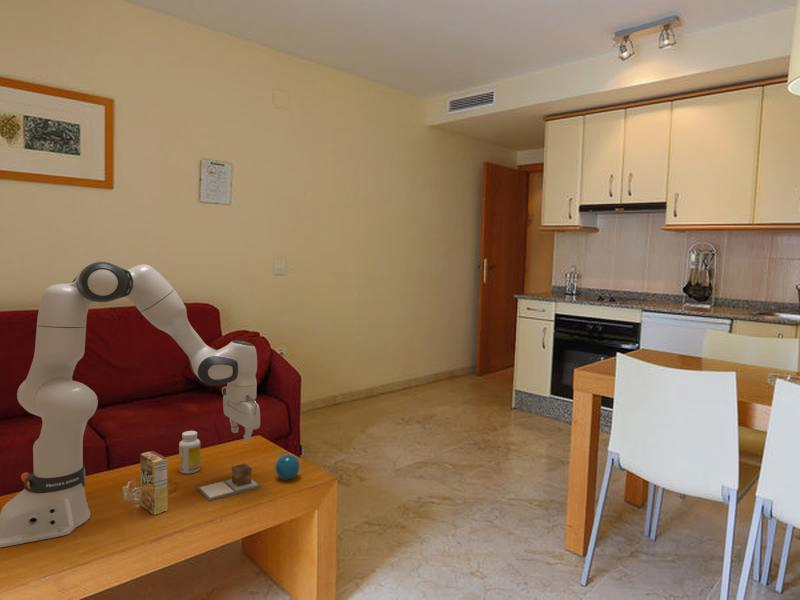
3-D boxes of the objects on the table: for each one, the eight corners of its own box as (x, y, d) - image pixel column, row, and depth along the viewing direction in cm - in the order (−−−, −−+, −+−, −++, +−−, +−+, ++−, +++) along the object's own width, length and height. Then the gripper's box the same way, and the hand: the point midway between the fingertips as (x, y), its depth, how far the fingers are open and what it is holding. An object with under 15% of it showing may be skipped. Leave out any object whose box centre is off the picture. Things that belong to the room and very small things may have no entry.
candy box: (139, 505, 154) (139, 453, 153) (154, 500, 157) (153, 450, 156) (154, 515, 148) (153, 462, 147) (169, 510, 152) (168, 457, 150)
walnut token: (237, 486, 166) (237, 471, 166) (231, 481, 170) (231, 466, 169) (251, 483, 169) (251, 467, 169) (245, 478, 172) (245, 463, 172)
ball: (271, 477, 176) (271, 453, 175) (293, 471, 181) (293, 448, 180) (281, 485, 170) (281, 461, 169) (304, 480, 174) (304, 456, 174)
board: (209, 501, 158) (209, 498, 158) (197, 489, 166) (197, 486, 165) (260, 487, 168) (260, 484, 168) (246, 476, 176) (246, 474, 176)
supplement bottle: (204, 467, 183) (204, 430, 182) (194, 475, 176) (194, 436, 175) (185, 465, 183) (185, 429, 182) (175, 473, 177) (175, 435, 176)
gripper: (266, 398, 161) (265, 443, 162) (238, 385, 177) (237, 426, 177) (246, 401, 157) (245, 447, 158) (219, 387, 173) (218, 429, 173)
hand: (240, 436), depth 168 cm, fingers open, 8 cm apart
